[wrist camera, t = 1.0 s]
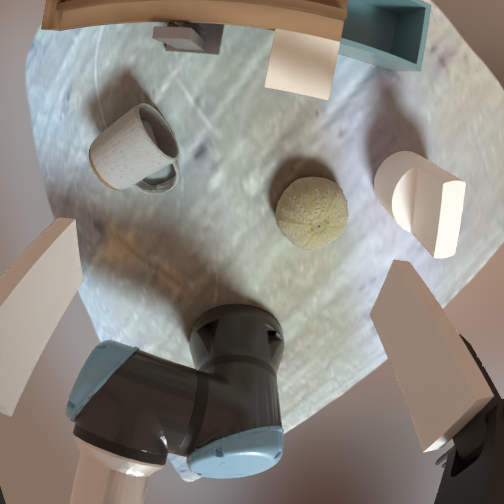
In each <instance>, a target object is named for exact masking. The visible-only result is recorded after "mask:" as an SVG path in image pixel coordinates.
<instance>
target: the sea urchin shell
mask: <svg viewBox="0 0 504 504" xmlns="http://www.w3.org/2000/svg"><path fill="white" fill-rule="evenodd" d="M275 217H276V224H277V225H278V227H279V229H280V230H281V232H282V234H283V235H285V236H286V237H287V238H288V239H289V240H290V241H291V243H293V244H295V245H296V246H298V247H300V248H302V249H308V250H312V249H316V248H322V247H324V246H325V245H327V244H329V243H331V242H333V241H334V240H335V239H336V238H338V237H339V236H340V235H341V234H342V233H343V231H344V229H345V227H346V223H347V218H348V209H347V200H346V199H345V196H344V194H343V190H342V189H341V188H340V187H339V186H338V185H337V184H336V183H334V182H332V181H330V180H328V179H326V178H320V177H312V176H311V177H306V178H299V179H297V180H295V181H294V182H292V183H291V184H290V186H289V187H287V188H286V189H285V190H284V193H283V195H282V196H281V198H280V199H279V201H278V203H277V208H276V214H275Z"/></svg>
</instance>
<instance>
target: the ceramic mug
mask: <svg viewBox="0 0 504 504" xmlns="http://www.w3.org/2000/svg"><path fill="white" fill-rule="evenodd" d="M178 155H179V150H178V145H177V142H176V139H175V137H174V135H173V133H172V131H171V129H170V127H169V125H168V124H167V122H166V121H165V119H164V118H163V117H162V116H161V114H160V113H159V112H158V111H157V110H156V109H154V108H153V107H152V106H151V105H149V104H147V103H140V104H137V105H136V106H135V107H133V108H132V109H131V110H129V111H128V112H127V113H126V114H124V115H123V116H122V117H120V118H119V119H118V120H117V121H115V122H114V123H113V124H112V125H111V126H109V127H108V128H107V129H106V130H104V131H103V132H102V133H101V134H100V135H99V136H98V137H97V138H96V139H95V140H94V141H93V143H92V144H91V146H90V149H89V160H90V164H91V167H92V169H93V171H94V173H95V174H96V176H97V177H98V178H99V180H100V181H101V182H102V183H104V184H105V185H106V186H108V187H110V188H112V189H115V190H123V189H126V188H129V187H131V186H133V185H134V187H135V188H136V189H138V190H139V191H141V192H143V193H145V194H150V195H158V194H162V193H166V192H168V191H170V190H171V189H173V188H174V187H175V186H176V185H177V183H178V181H179V176H180V173H179V164H178V161H177V159H178ZM171 163H172V164H173V166H174V169H175V172H176V174H175V176H174V177H173V178H172V179H170V180H168V181H166V182H164V183H161V184H157V185H156V186H151V185H147V184H145V183H143V182H141V180H143V179H144V178H146V177H147V176H149V175H151V174H153V173H155V172H157V171H158V170H160V169H162V168H164V167H165V166H167V165H169V164H171Z"/></svg>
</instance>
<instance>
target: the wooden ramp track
mask: <svg viewBox="0 0 504 504" xmlns="http://www.w3.org/2000/svg"><path fill="white" fill-rule="evenodd" d="M347 2H348V0H46V5H45V10H44V16H43V21H42V27H41V29H44V30H57V31H62V30H68V29H75V28H82V27H89V26H98V25H108V24H121V23H139V22H195V23H213V24H226V25H236V26H245V27H254V28H261V29H268V30H274V31H275V34H274V40H273V45H272V50H271V56H270V61H269V66H268V72H267V77H266V83H265V87H266V88H272V89H278V90H283V91H288V92H293V93H298V94H303V95H307V96H312V97H316V98H321V99H325V100H329V95H330V90H331V85H332V81H333V76H334V71H335V66H336V61H337V56H338V50H339V45H340V40H341V35H342V29H343V24H344V21H345V19H346V18H347V13H348V10H346V7H347Z"/></svg>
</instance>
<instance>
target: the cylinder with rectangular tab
mask: <svg viewBox="0 0 504 504" xmlns="http://www.w3.org/2000/svg"><path fill="white" fill-rule="evenodd" d="M465 184H466V183H465V182H464V181H462V180H461V179H459V178H457V177H456V176H454V175H452V174H451V173H449V172H447V171H446V170H444V169H443V168H442V167H440V166H438V165H436V164H435V163H433V162H431V161H429V160H427V159H426V158H424V157H422V156H420V155H418V154H416V153H414V152H411V151H400V152H396V153H394V154H392V155H390V156H388V157H387V158H386V159H385V160H384V161H383V162H382V163H381V165H380V166H379V168H378V170H377V172H376V175H375V178H374V194H375V196H376V199H377V201H378V202H379V204H380V205H381V206H382V207H383V209H384V210H385V211H386V212H387V213H388V214H389V215H390V216H391V217H392V218H393V219H394V220H395V221H396V223H397V224H398V225H399V226H400V227H401V228H403V229H404V230H406V231H408V232H411V233H412V234H413V235H414V236H415V237H416V238H417V239H418V241H419V242H420V243H421V244H422V245H423V246H424V247H425V248H426V250H427V251H428V252H429V253H430V254H431V255H432V256H433V258H446V257H450V256H453V255H454V254H455V251H456V246H457V240H458V235H459V229H460V222H461V216H462V209H463V201H464V193H465Z"/></svg>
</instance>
